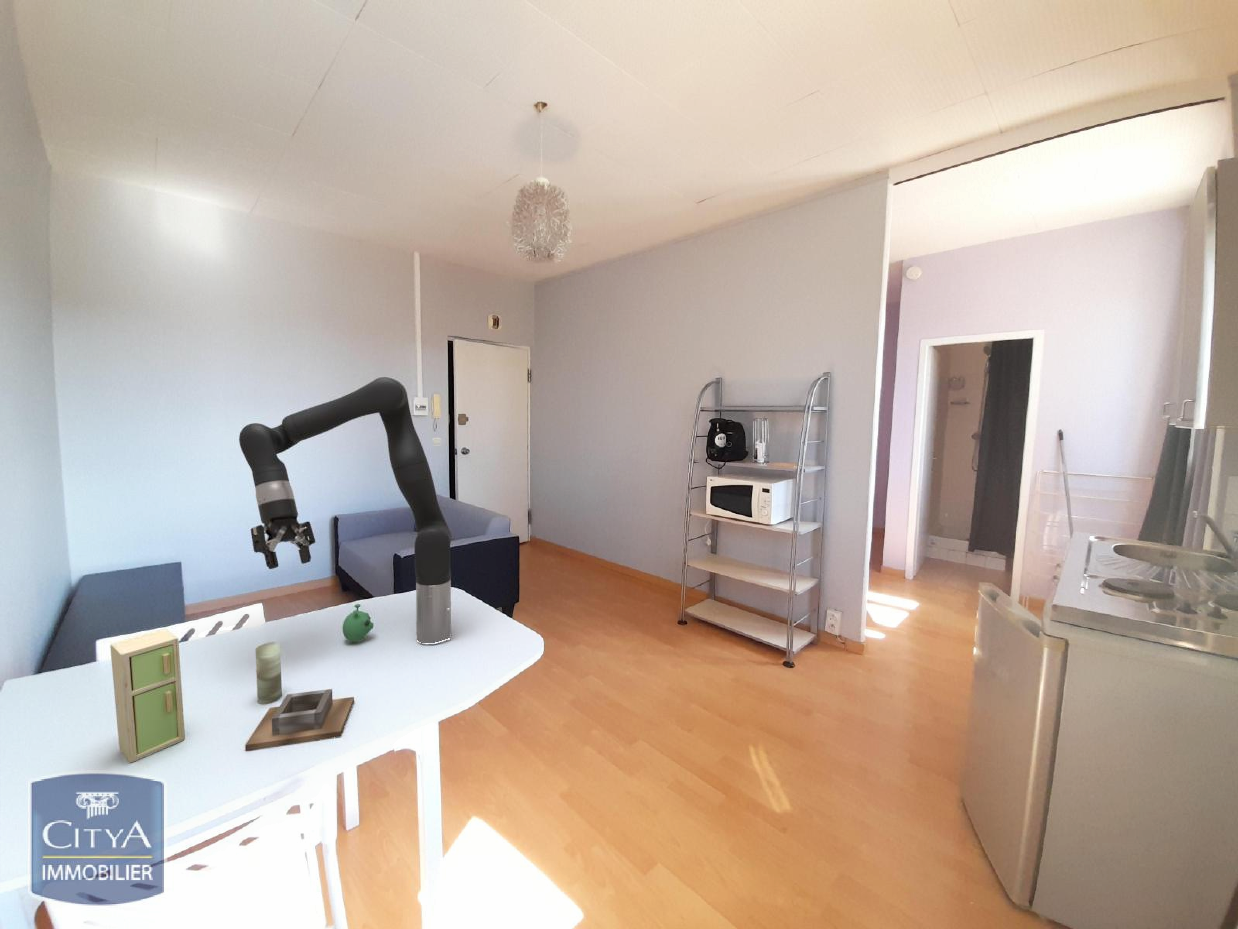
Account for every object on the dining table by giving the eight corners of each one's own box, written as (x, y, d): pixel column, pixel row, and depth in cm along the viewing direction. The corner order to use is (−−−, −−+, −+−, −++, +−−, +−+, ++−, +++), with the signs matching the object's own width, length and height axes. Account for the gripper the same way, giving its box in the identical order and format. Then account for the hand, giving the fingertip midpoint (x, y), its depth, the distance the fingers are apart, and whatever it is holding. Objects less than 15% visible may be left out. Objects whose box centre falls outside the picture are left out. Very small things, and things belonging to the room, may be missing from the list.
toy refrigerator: (129, 766, 86) (121, 655, 83) (117, 750, 89) (109, 643, 87) (187, 741, 92) (181, 638, 90) (173, 727, 96) (167, 627, 94)
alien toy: (372, 644, 133) (372, 610, 132) (341, 648, 130) (340, 613, 129) (374, 633, 139) (374, 600, 138) (344, 637, 136) (344, 603, 135)
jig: (354, 701, 107) (353, 682, 106) (340, 736, 95) (340, 714, 95) (269, 713, 102) (269, 692, 101) (245, 751, 90) (244, 727, 90)
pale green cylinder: (284, 691, 110) (283, 641, 108) (277, 702, 105) (275, 650, 104) (262, 694, 108) (260, 643, 107) (254, 705, 104) (251, 653, 103)
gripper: (259, 498, 111) (274, 565, 109) (313, 496, 124) (327, 557, 122) (235, 507, 112) (250, 574, 110) (291, 505, 126) (304, 565, 124)
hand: (290, 565), depth 116 cm, fingers open, 8 cm apart
